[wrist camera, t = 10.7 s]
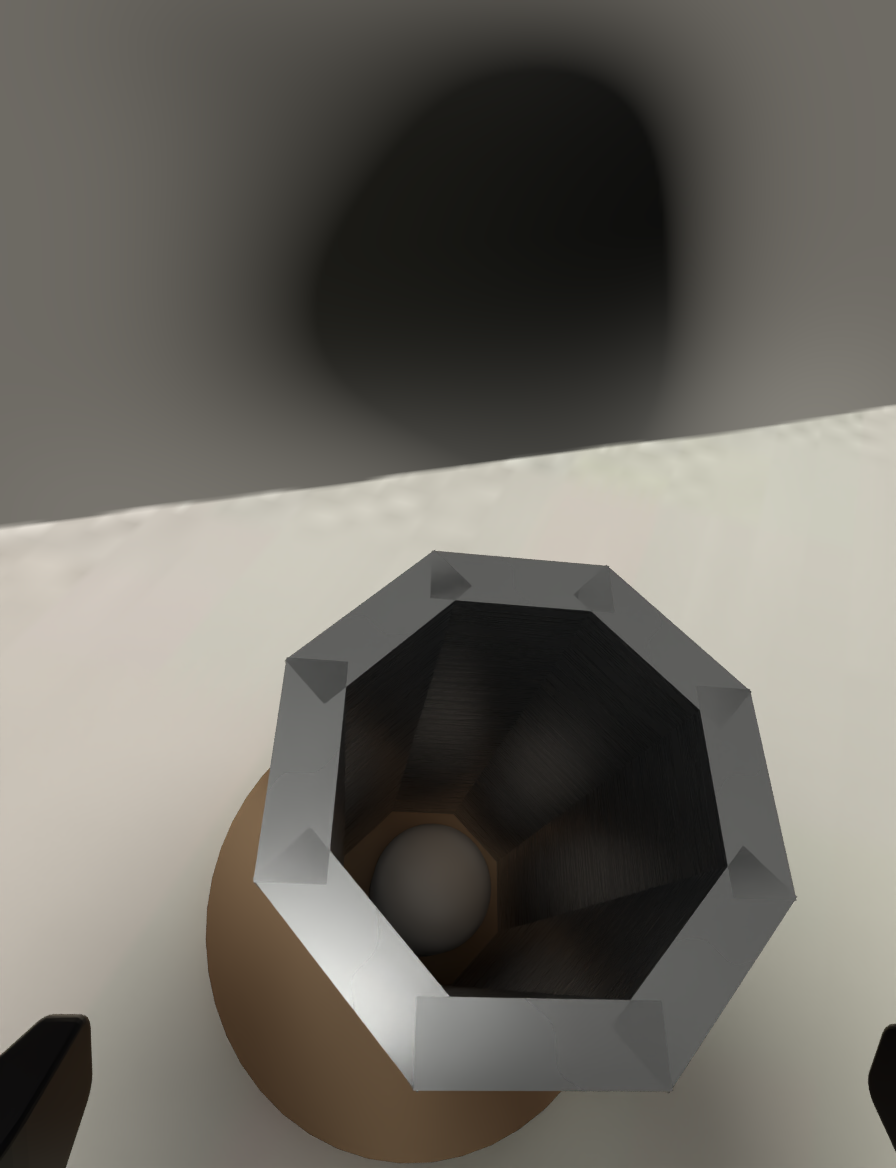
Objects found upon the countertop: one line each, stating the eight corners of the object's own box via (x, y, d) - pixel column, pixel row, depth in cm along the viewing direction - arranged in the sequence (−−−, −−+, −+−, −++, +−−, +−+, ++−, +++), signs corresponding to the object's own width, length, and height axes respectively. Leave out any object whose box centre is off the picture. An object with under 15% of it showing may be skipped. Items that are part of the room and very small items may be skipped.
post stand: (385, 1285, 15) (402, 1405, 11) (132, 875, 18) (70, 845, 14) (684, 924, 20) (777, 910, 15) (438, 648, 23) (459, 575, 19)
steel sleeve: (527, 1020, 17) (839, 1092, 6) (300, 1016, 16) (219, 1093, 6) (519, 791, 20) (725, 575, 9) (325, 782, 19) (303, 538, 9)
